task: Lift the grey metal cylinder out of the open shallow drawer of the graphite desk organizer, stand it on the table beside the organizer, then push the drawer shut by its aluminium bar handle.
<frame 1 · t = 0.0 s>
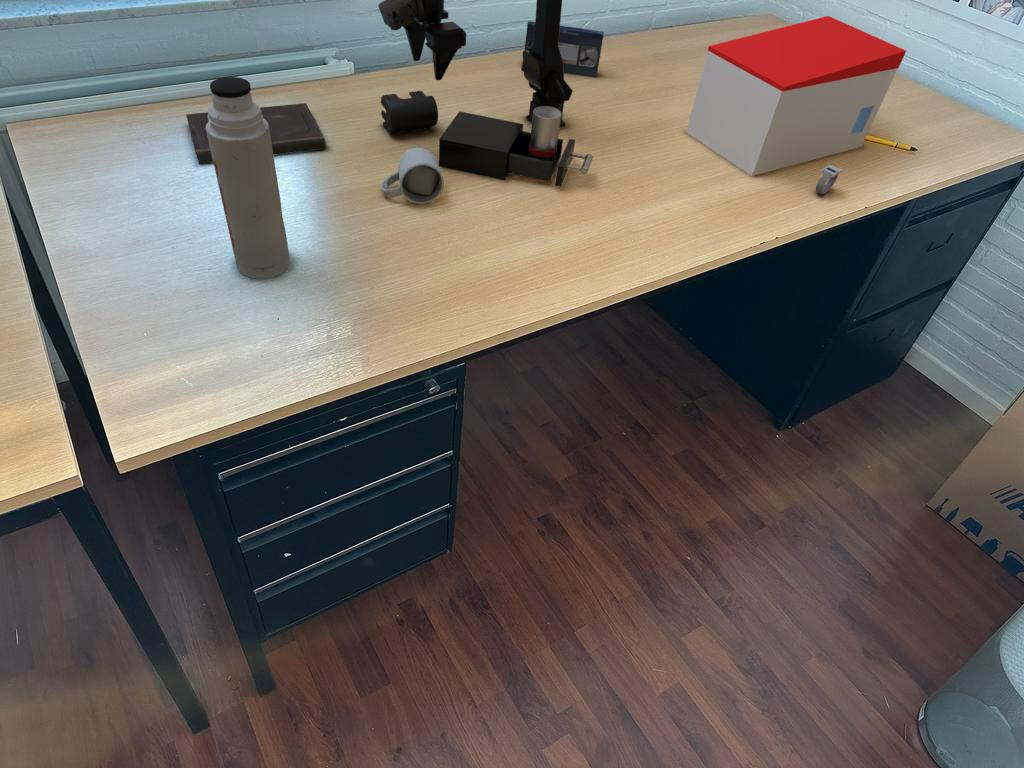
hand: (427, 70, 132), 15 cm above the table, tool pointing down, fingers open, 9 cm apart
grey metal cylinder: (540, 162, 138), point 2 cm above the table, touching drawer
vhs cassette tape: (559, 71, 175), on the table
thermos bottle: (263, 264, 111), on the table
hardcover book: (257, 138, 138), on the table
cabinet: (480, 158, 140), on the table
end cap: (409, 130, 146), on the table
bookstore: (774, 140, 159), on the table
ceramic mug: (412, 194, 129), on the table
drawer: (547, 158, 137), point 3 cm above the table, slide at 9.5 cm, touching grey metal cylinder
wristwatch: (821, 193, 143), on the table
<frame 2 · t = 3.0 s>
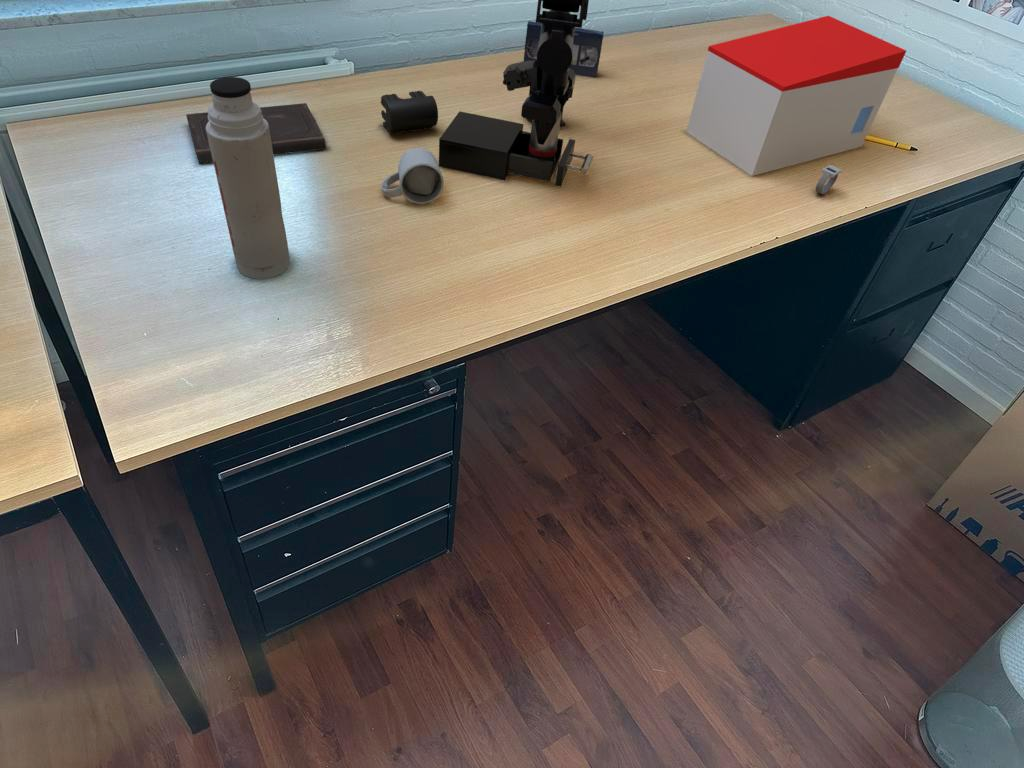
hand: (544, 137, 134), 7 cm above the table, tool pointing down, fingers closed on grey metal cylinder, 5 cm apart
grey metal cylinder: (540, 162, 138), point 2 cm above the table, touching drawer, gripper
everything else where it was.
when the fingers open (5 cm above the table, at t = 8.5 s): grey metal cylinder stays where it is, on the table.
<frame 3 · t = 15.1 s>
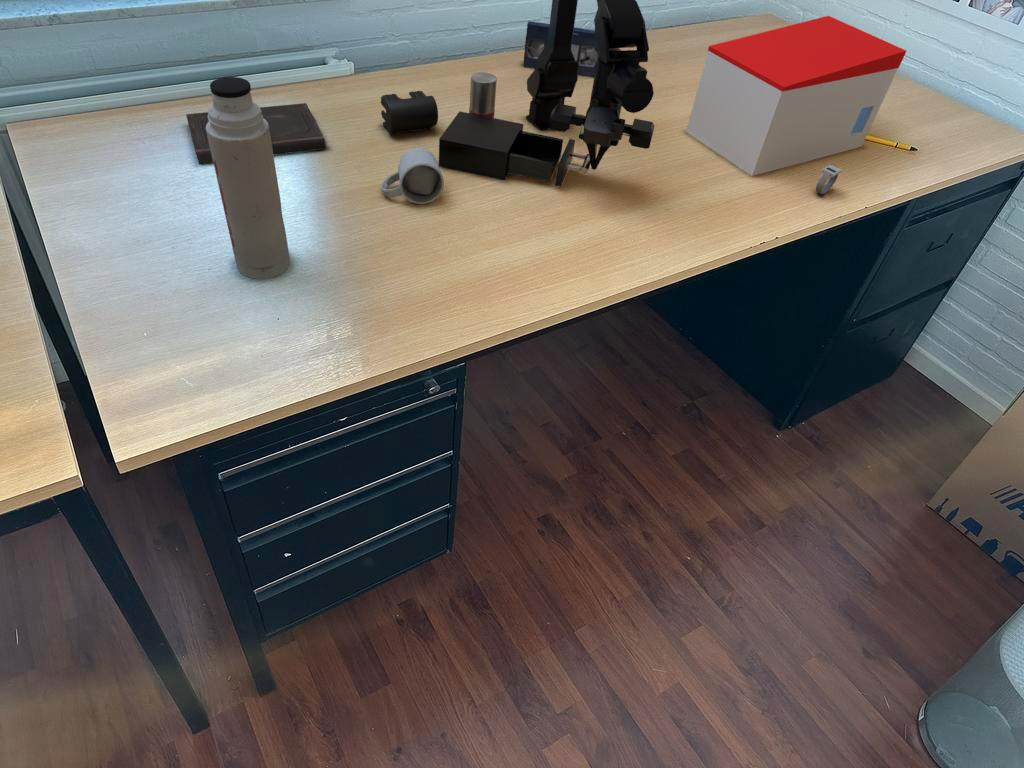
hand: (593, 168, 136), 3 cm above the table, tool pointing down, fingers closed
grey metal cylinder: (481, 125, 151), on the table
drawer: (547, 158, 137), point 3 cm above the table, slide at 9.5 cm, touching gripper
everything else where it was.
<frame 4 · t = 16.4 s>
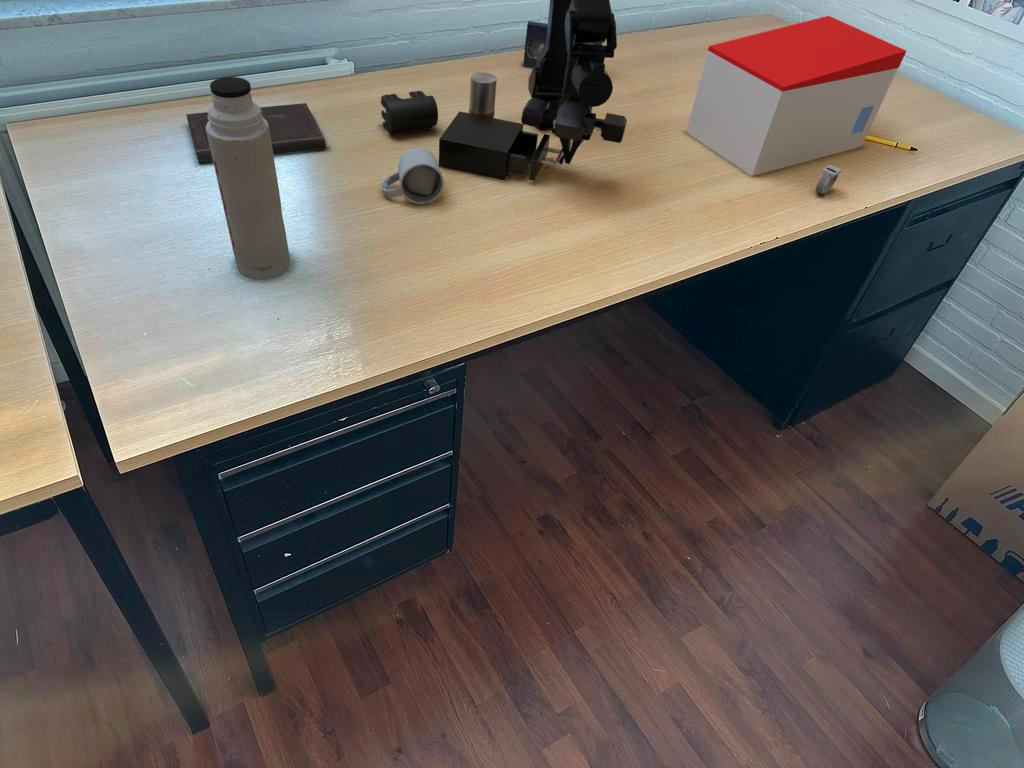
hand: (567, 163, 136), 3 cm above the table, tool pointing down, fingers closed
drawer: (522, 153, 137), point 3 cm above the table, slide at 4.4 cm, touching gripper
everything else where it was.
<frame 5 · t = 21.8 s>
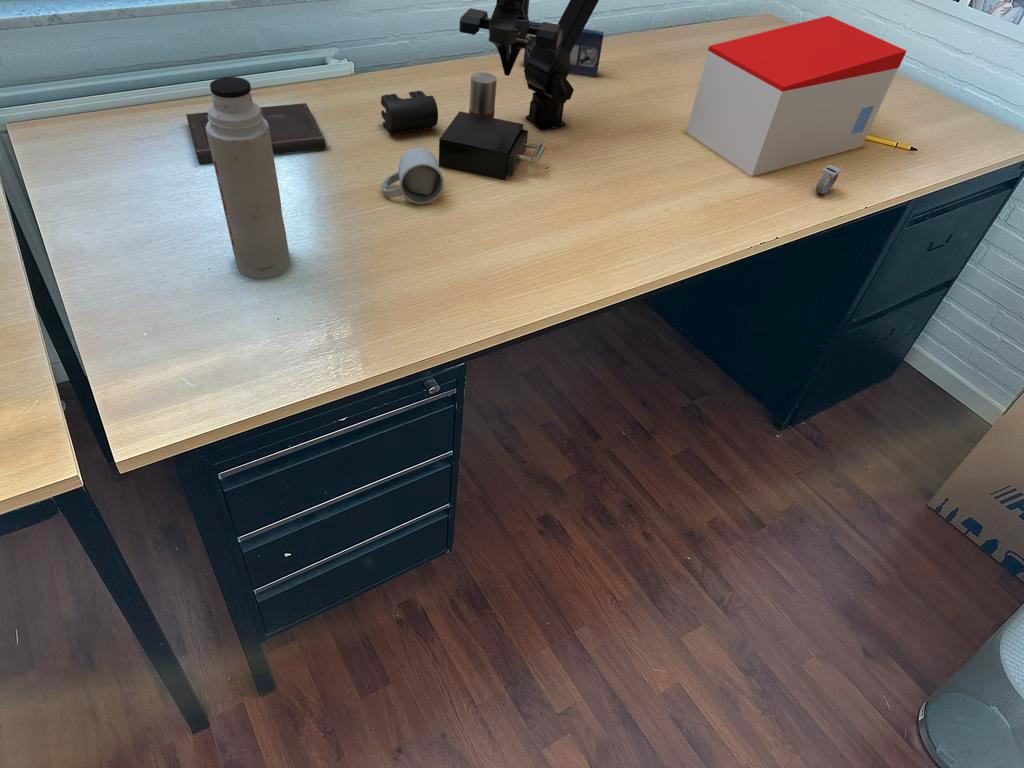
hand: (507, 74, 139), 13 cm above the table, tool pointing down, fingers closed
drawer: (500, 148, 138), point 3 cm above the table, slide at 0.0 cm
everything else where it was.
at the end: grey metal cylinder inside the target area (0.1 cm from its centre), on the table; grey metal cylinder tilted 0°; drawer slide at 0.0 cm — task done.
